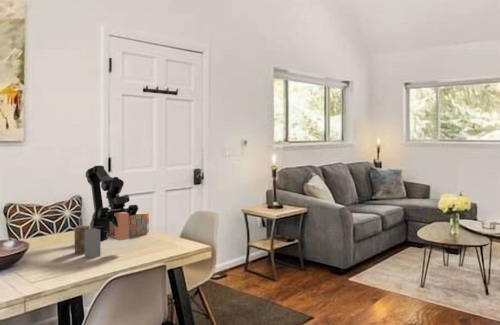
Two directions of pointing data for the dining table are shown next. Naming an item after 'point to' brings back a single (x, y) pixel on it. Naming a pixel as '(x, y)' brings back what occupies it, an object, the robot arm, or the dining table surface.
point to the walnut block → (80, 239)
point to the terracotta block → (122, 226)
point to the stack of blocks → (135, 224)
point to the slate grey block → (92, 243)
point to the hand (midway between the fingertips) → (122, 225)
